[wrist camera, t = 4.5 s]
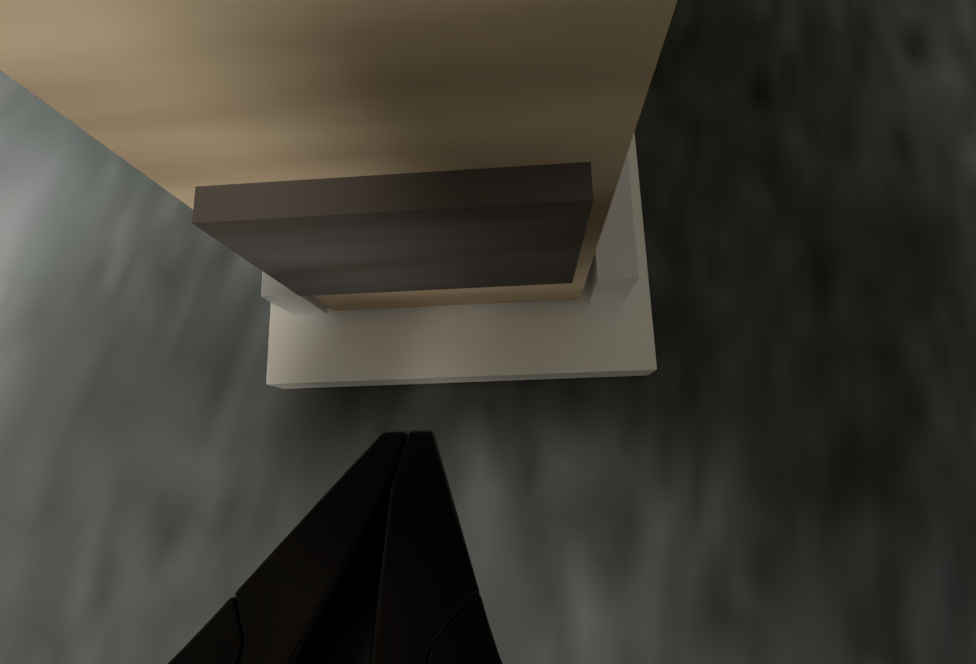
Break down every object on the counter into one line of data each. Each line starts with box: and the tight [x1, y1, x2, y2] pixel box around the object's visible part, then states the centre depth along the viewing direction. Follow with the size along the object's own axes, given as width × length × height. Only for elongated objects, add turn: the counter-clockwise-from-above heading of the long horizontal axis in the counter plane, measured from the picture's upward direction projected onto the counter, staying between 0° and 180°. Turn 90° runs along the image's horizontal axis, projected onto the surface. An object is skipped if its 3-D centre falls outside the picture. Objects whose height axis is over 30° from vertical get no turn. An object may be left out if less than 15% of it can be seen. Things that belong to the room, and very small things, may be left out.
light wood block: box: [0, 0, 678, 311], centre depth 10 cm, size 5×7×12 cm, turn 92°
